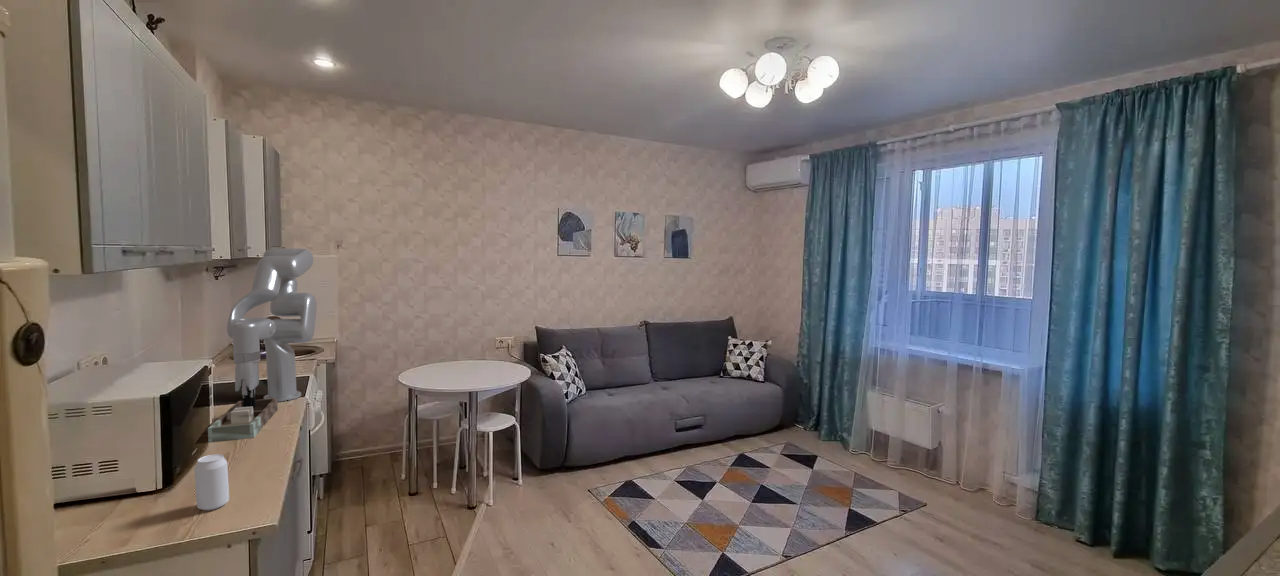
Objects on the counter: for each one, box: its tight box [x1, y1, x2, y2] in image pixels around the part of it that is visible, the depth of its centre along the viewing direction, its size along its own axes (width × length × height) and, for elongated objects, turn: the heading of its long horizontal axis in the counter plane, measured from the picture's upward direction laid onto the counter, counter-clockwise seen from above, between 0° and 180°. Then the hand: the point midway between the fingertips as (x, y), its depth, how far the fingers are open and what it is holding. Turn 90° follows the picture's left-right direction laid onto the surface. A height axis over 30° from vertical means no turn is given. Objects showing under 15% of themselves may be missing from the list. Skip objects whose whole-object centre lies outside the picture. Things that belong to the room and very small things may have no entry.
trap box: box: [207, 398, 279, 443], centre depth 187 cm, size 30×12×4 cm, turn 21°
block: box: [231, 406, 254, 424], centre depth 184 cm, size 5×5×4 cm
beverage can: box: [193, 453, 230, 511], centre depth 131 cm, size 6×6×12 cm
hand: (249, 408), depth 192 cm, fingers closed
